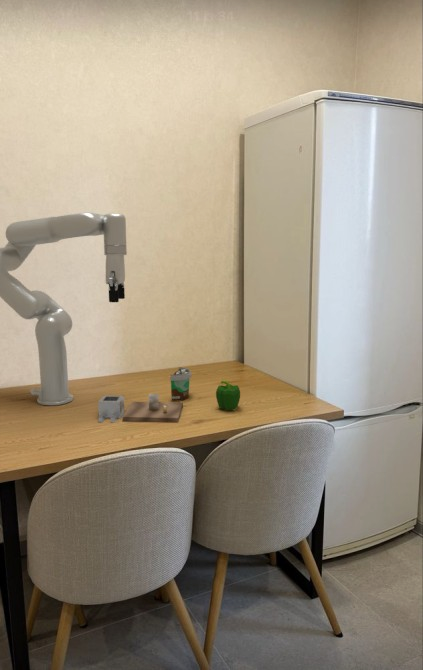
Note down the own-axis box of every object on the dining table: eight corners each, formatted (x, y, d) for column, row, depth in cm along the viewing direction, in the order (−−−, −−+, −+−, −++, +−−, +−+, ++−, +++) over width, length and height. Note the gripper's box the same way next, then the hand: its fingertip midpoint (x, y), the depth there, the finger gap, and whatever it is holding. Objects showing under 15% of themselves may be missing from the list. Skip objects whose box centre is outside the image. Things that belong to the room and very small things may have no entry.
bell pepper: (245, 407, 184) (245, 379, 182) (232, 414, 177) (232, 385, 176) (224, 403, 189) (224, 376, 187) (211, 409, 182) (211, 381, 180)
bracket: (104, 410, 181) (103, 395, 180) (124, 411, 180) (123, 395, 179) (95, 422, 170) (95, 405, 169) (117, 422, 170) (116, 406, 168)
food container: (187, 403, 189) (186, 375, 187) (170, 401, 190) (170, 375, 188) (195, 393, 201) (194, 367, 199) (179, 392, 202) (179, 366, 200)
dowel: (162, 413, 173) (162, 406, 173) (163, 412, 175) (163, 405, 174) (166, 413, 173) (166, 406, 173) (167, 412, 175) (166, 405, 174)
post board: (122, 421, 170) (121, 402, 169) (132, 405, 186) (131, 387, 185) (178, 422, 170) (177, 402, 168) (183, 406, 185) (182, 388, 184)
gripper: (110, 249, 189) (112, 297, 193) (98, 251, 172) (100, 303, 176) (131, 249, 189) (132, 297, 192) (120, 251, 172) (122, 303, 175)
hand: (117, 300), depth 184 cm, fingers open, 9 cm apart
